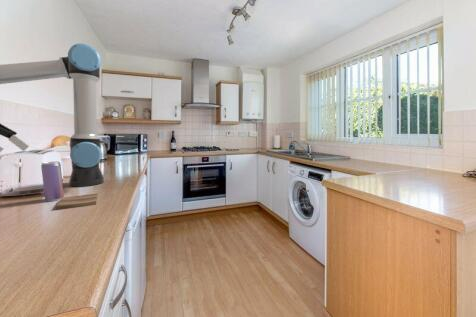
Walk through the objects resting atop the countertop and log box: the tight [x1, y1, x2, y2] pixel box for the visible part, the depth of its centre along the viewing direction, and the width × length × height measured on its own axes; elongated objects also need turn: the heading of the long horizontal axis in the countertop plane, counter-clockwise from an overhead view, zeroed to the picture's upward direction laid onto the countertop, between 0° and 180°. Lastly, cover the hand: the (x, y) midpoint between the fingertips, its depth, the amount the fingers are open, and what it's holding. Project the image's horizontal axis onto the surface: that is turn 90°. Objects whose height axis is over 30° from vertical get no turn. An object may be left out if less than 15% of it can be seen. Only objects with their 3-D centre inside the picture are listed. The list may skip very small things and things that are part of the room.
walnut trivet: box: [55, 193, 99, 211], centre depth 88 cm, size 12×12×1 cm
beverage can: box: [40, 161, 65, 202], centre depth 92 cm, size 6×6×15 cm
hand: (14, 149), depth 88 cm, fingers open, 13 cm apart
